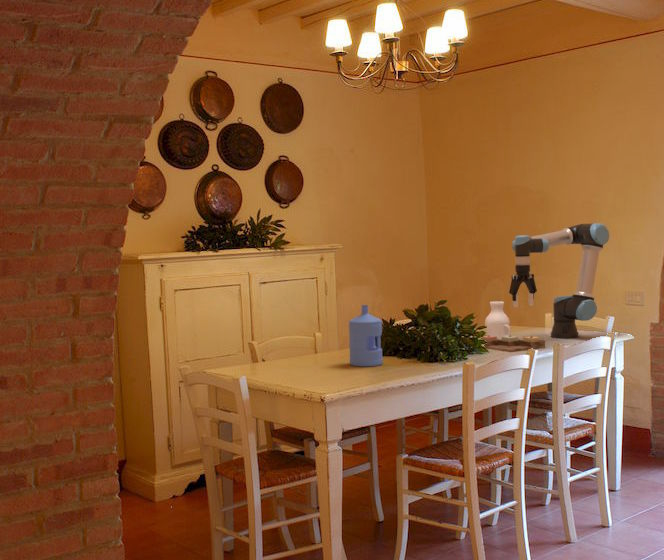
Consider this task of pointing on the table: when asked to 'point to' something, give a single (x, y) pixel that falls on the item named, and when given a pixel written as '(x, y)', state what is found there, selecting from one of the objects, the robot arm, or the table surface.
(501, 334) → the mug
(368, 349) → the water jug
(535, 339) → the tile three
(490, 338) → the tile two
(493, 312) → the vase
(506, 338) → the tile one
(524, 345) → the board
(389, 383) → the table surface
